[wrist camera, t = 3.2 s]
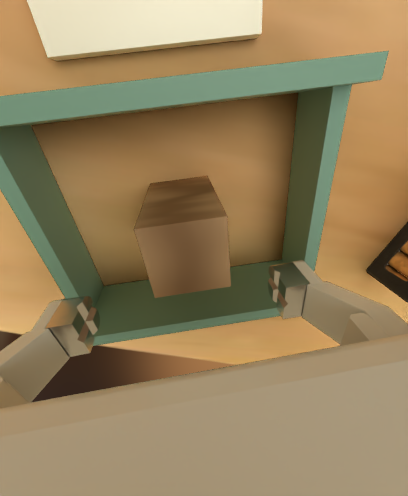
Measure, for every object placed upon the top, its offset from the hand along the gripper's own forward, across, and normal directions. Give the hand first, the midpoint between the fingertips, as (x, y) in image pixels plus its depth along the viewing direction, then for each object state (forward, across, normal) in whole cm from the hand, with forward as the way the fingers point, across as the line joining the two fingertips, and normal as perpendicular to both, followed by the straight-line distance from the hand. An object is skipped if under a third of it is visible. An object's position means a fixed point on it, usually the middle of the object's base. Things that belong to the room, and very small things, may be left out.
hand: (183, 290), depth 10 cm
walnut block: (+10, 0, 0) cm, 10 cm away
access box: (+10, 0, 0) cm, 10 cm away
